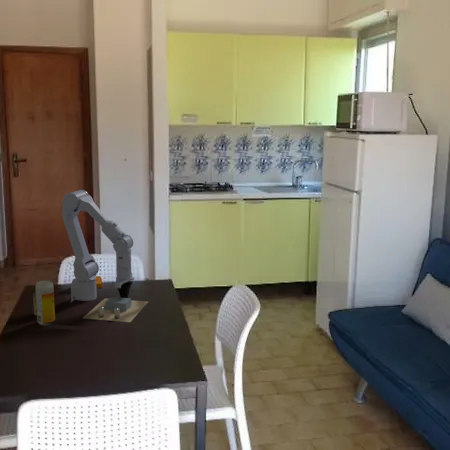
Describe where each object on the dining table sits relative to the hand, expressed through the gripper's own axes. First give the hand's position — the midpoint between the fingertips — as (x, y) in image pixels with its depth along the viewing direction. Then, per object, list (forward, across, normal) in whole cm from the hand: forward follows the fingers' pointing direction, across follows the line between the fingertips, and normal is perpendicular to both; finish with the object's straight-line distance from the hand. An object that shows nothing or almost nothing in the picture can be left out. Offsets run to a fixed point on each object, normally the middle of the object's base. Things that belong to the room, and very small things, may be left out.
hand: (124, 300), depth 222 cm
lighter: (+2, -15, +26) cm, 30 cm away
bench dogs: (+1, -17, 0) cm, 17 cm away
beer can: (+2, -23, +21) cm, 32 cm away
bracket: (+2, +20, +21) cm, 29 cm away
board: (+2, -8, 0) cm, 9 cm away
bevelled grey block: (+1, -6, 0) cm, 7 cm away
